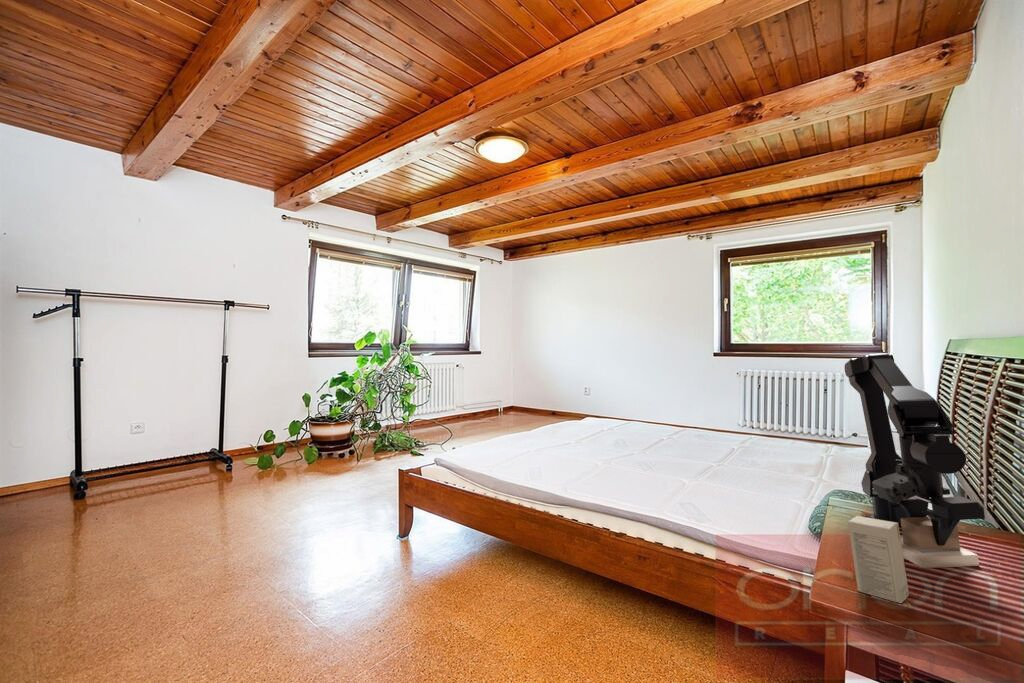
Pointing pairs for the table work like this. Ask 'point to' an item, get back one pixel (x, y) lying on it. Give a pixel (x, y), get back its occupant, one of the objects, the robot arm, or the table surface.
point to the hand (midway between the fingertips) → (930, 540)
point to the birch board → (939, 557)
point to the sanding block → (926, 536)
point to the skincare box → (878, 558)
